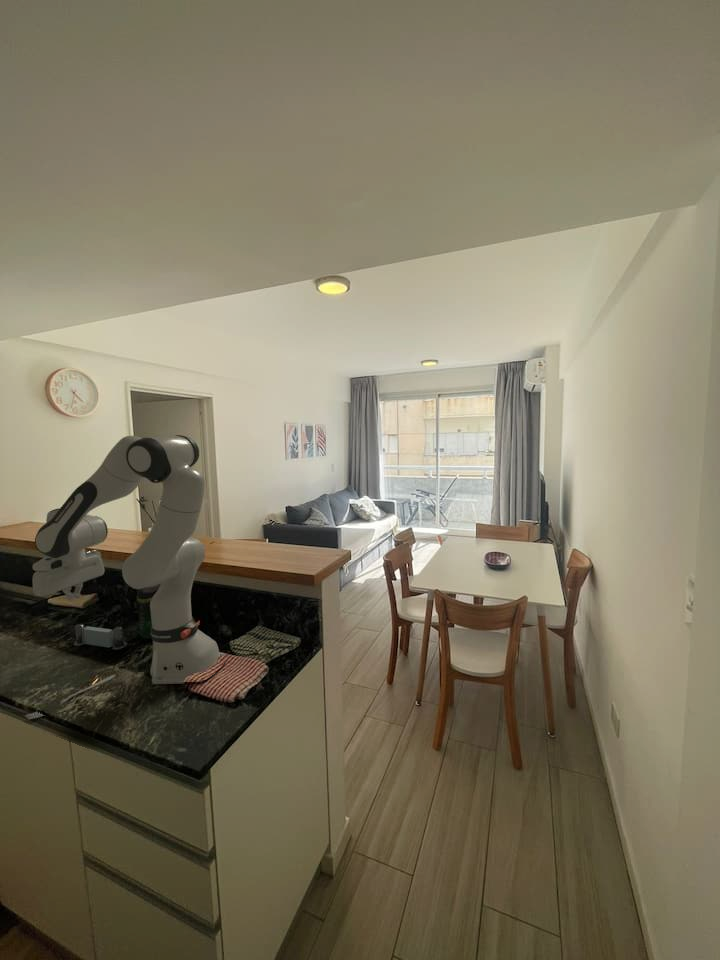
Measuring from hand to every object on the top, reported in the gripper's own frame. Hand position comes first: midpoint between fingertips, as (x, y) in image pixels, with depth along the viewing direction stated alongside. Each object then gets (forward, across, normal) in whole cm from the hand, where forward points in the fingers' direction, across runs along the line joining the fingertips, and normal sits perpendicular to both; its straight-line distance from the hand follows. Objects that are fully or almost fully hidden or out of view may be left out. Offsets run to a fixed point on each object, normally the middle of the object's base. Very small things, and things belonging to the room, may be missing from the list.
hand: (74, 598), depth 121 cm
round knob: (+20, -7, -10) cm, 24 cm away
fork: (+22, +14, +17) cm, 31 cm away
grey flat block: (+20, -7, -2) cm, 21 cm away
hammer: (+20, -9, +5) cm, 23 cm away
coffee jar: (+21, -19, +11) cm, 30 cm away
